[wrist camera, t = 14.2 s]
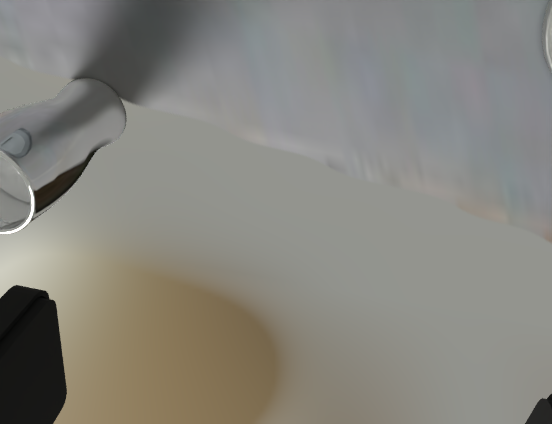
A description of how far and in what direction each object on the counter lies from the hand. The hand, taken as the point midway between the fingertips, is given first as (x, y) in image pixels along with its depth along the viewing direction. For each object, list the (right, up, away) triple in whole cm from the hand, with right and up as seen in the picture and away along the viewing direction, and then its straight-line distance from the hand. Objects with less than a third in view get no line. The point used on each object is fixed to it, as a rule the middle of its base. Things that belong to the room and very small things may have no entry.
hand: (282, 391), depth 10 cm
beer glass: (-16, +12, +35) cm, 40 cm away
